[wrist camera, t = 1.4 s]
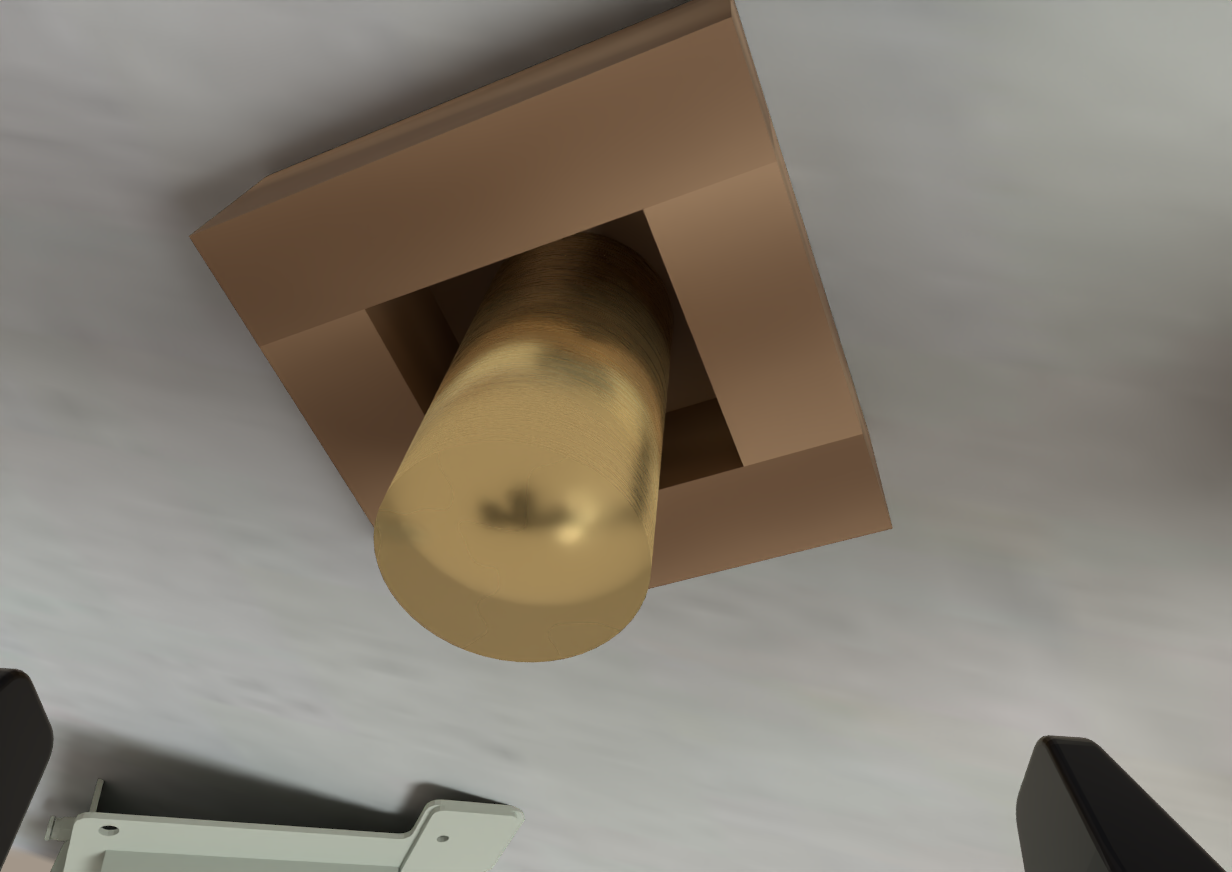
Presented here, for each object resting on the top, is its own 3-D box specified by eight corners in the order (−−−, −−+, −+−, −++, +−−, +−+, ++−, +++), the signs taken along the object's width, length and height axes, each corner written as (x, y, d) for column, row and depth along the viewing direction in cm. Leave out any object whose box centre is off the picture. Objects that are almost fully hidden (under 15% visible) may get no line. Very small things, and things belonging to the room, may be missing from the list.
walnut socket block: (869, 434, 22) (892, 528, 19) (477, 542, 25) (444, 639, 22) (729, -16, 18) (731, 17, 15) (266, 176, 20) (188, 236, 17)
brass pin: (699, 373, 21) (690, 629, 14) (532, 424, 22) (451, 685, 15) (632, 203, 19) (586, 406, 13) (454, 267, 20) (321, 487, 14)
